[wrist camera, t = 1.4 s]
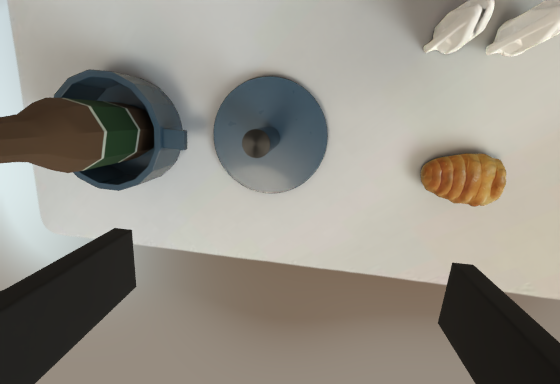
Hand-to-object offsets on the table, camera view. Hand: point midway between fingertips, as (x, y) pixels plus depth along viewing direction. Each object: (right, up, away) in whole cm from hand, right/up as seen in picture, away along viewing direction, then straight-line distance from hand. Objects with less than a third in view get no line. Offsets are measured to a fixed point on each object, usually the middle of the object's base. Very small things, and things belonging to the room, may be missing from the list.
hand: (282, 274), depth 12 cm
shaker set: (+24, +22, +22) cm, 39 cm away
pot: (-21, +12, +30) cm, 39 cm away
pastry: (+24, +5, +27) cm, 36 cm away
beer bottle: (-21, +12, +30) cm, 38 cm away
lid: (-1, +11, +27) cm, 29 cm away
